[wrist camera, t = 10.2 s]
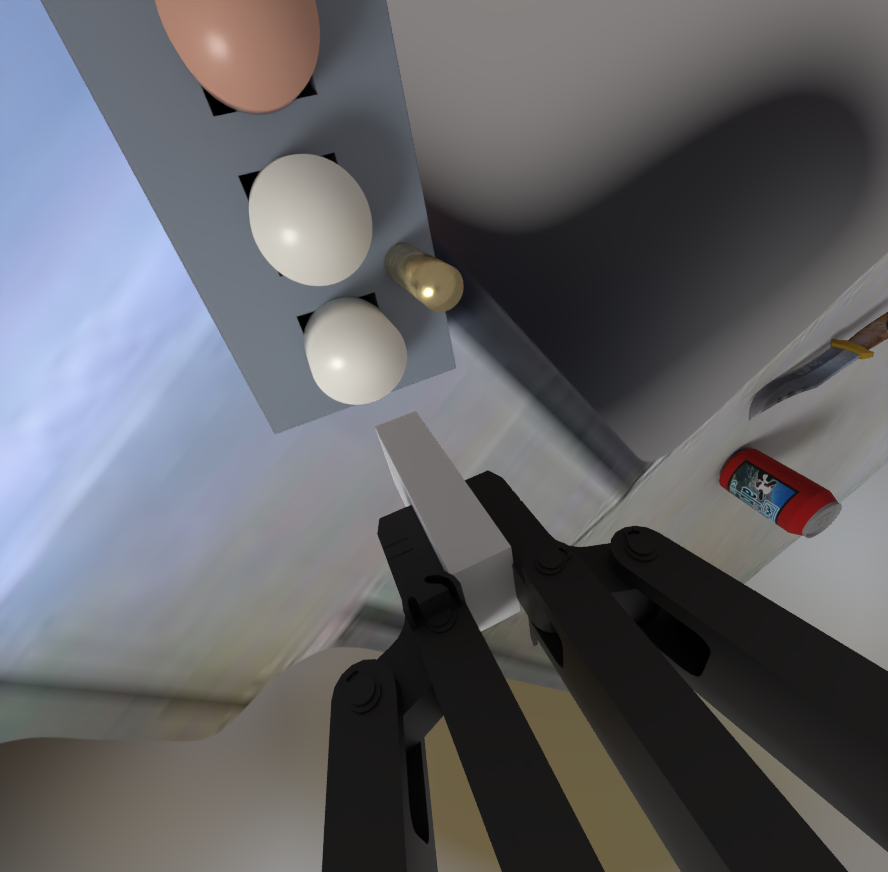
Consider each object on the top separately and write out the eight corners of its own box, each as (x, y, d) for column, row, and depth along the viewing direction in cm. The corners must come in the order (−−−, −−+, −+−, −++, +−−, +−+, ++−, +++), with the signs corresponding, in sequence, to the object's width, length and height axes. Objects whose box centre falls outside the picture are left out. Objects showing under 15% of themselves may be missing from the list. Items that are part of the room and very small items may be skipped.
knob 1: (216, 133, 21) (204, 122, 15) (158, -6, 18) (112, -94, 12) (312, 112, 22) (339, 93, 16) (272, -23, 19) (285, -114, 13)
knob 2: (271, 264, 25) (280, 300, 19) (230, 167, 22) (225, 170, 16) (351, 241, 26) (385, 268, 20) (322, 146, 23) (352, 140, 17)
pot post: (389, 286, 23) (425, 317, 19) (379, 248, 22) (415, 272, 17) (423, 276, 24) (466, 304, 19) (414, 238, 23) (459, 258, 18)
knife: (730, 415, 53) (769, 435, 49) (730, 407, 52) (769, 427, 48) (889, 297, 53) (941, 308, 49) (891, 287, 52) (944, 298, 48)
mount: (270, 391, 30) (274, 434, 25) (51, -37, 17) (-19, -109, 13) (425, 338, 32) (456, 368, 28) (331, -74, 20) (358, -147, 15)
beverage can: (716, 460, 58) (807, 518, 48) (755, 436, 58) (853, 489, 49) (712, 491, 62) (795, 550, 52) (749, 469, 62) (838, 524, 53)
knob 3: (311, 361, 29) (330, 417, 23) (281, 289, 26) (293, 331, 20) (379, 338, 30) (416, 385, 24) (358, 266, 27) (393, 299, 21)
